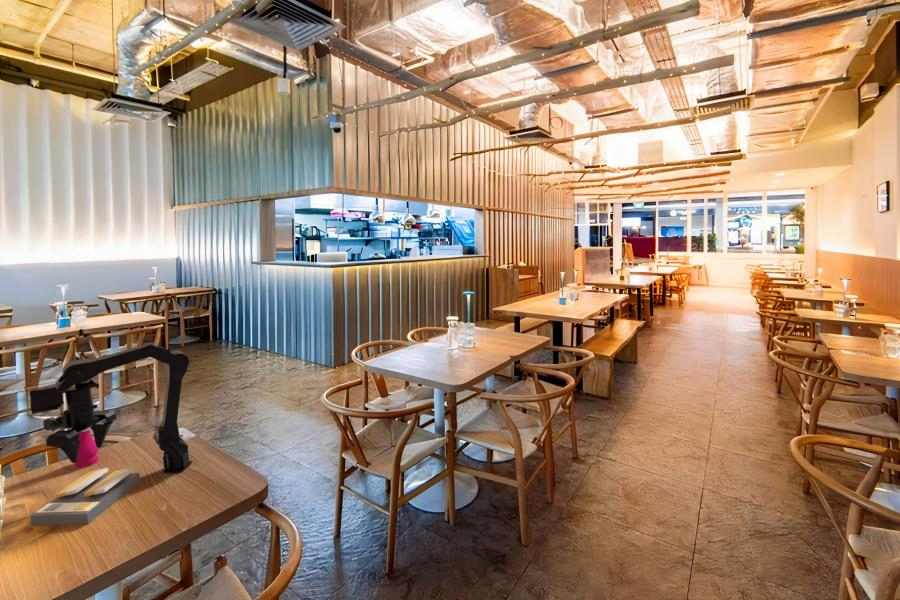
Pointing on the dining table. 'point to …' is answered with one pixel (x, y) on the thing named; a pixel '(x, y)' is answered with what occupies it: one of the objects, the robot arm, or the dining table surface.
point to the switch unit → (83, 503)
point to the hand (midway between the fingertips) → (87, 454)
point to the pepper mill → (86, 450)
